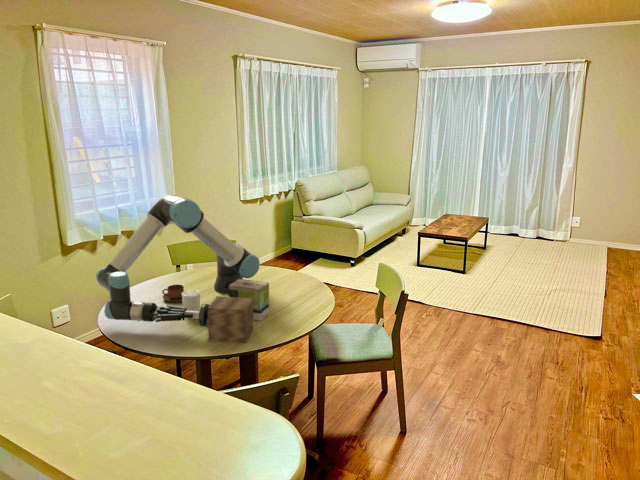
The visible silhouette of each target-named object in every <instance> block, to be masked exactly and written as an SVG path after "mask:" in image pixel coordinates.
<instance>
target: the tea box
mask: <svg viewBox="0 0 640 480" xmlns="http://www.w3.org/2000/svg"><path fill="white" fill-rule="evenodd" d="M228 297H237V298H253V321H259V322H261V321H262V320H263V319H264V318H265V317H267V316H268V313H270V282H267V281H260V280H259V281H258V280H252V279H245V278H243V279H238V280H237V281H235V282H234V283H232V284H230V285H229V293H228Z"/></svg>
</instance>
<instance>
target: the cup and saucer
mask: <svg viewBox="0 0 640 480" xmlns="http://www.w3.org/2000/svg"><path fill="white" fill-rule="evenodd" d="M164 291H167V293H165V292H164ZM184 291H185V289H184V285H182V284H171V285H169V286H167V288H164V289H163V290H162V291H161V292H162V294H163V295H162V299H163V300H164V301H166V302H170V303H177V302H182V292H184Z"/></svg>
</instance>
